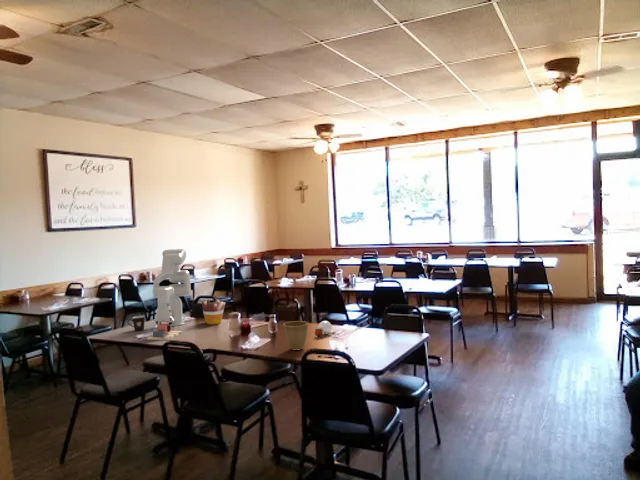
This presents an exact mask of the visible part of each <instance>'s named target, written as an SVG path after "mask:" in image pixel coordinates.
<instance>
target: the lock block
mask: <svg viewBox="0 0 640 480" xmlns="http://www.w3.org/2000/svg"><path fill="white" fill-rule="evenodd" d="M156 325H157V324H156ZM167 326H168V325H167V322H161V324H159V325H157V330H166V334H167V333H169V332H171V331H172V329H171V330H170V331H169V332H168V331H167Z"/></svg>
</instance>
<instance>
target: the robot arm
mask: <svg viewBox="0 0 640 480" xmlns="http://www.w3.org/2000/svg"><path fill="white" fill-rule="evenodd" d="M161 253H162V254H161V255H162V260H161V261H162V264H161V272H160V273H159V274H158V275H157V276H156V278H155V279H154V281H153V285H152V295H153V297H156V298H157V308H156V316H155V318H154V319H153V321H154V323H155V324H156V325H159V324H162V323H167V325H168V326H167V331H168V332H169V331H170V330H171V331H172V327H178V326H183V325H185V324H186V323H185V321H184V320H185V319H186V317H183V302H182V299H181V298H180V297H188V296H190V295H191V293H192V287H191V274H190V273H191V272H190V271H188V270H187V269H180V266H182V265H183V264H184V262H185V260H186V259H187V252H186V250H185V249H182V248H181V249H180V248H177V249H175V248H174V249H172V248H171V249H165V250H163V251H162V252H161ZM167 279H168V281H169V282H170V283H172V284H169V285H161V286H160V283H161V282H163V281H164V280H167Z"/></svg>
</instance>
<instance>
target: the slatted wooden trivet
mask: <svg viewBox="0 0 640 480" xmlns="http://www.w3.org/2000/svg"><path fill="white" fill-rule="evenodd" d="M181 334H183V331H182V330H171V332H169V333H167V336H165V337H153V334H152V335H150V336H146V340H155V341H157V340H161V341H169V340H171V339H173V338H175V337H178V336H179V335H181Z"/></svg>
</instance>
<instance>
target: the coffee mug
mask: <svg viewBox="0 0 640 480" xmlns="http://www.w3.org/2000/svg"><path fill="white" fill-rule="evenodd" d="M145 320H146V316H145V315H135V316H133V317H132V319H128V320H127V324H128V325H129V326H131V327H133V328H134V332H143V331H144V330H145ZM129 321H132V322H133V325H132V324H130V323H129Z"/></svg>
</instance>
